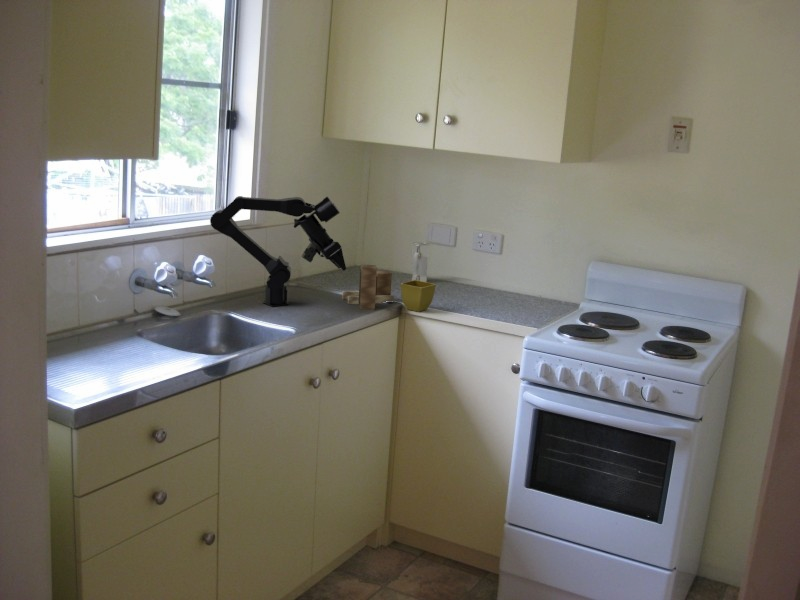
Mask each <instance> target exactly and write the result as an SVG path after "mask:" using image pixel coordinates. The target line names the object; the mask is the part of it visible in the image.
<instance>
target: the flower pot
mask: <svg viewBox="0 0 800 600" xmlns="http://www.w3.org/2000/svg"><path fill="white" fill-rule="evenodd" d="M411 280H412V279H411ZM411 280H409V281H405V282H402V283H400V293H401V301H402V303H403V305H404V307H405V309H406V310H408V311H413V312H418V313H419V312H422V311H423V312H424V311H426V310H427V309H428V308H430V305H431V303H432V302H433V299H434V295H435V291H436V285H437V284H436V283H431V282H428V281H427V282H423V281H418V280H412V281H411Z"/></svg>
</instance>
